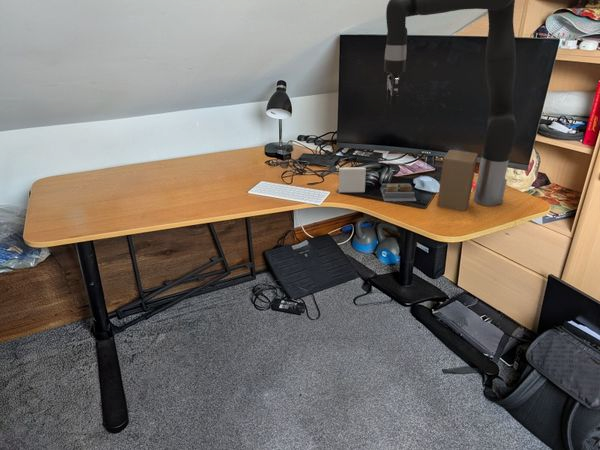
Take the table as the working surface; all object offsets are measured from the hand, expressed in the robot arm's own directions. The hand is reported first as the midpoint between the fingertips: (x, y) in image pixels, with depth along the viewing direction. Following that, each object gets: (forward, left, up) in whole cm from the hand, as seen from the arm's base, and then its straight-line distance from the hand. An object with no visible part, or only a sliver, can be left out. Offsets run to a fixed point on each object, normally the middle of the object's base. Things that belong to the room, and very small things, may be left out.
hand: (391, 103), depth 171 cm
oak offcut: (0, +14, -32) cm, 35 cm away
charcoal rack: (-3, +13, -33) cm, 36 cm away
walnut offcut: (-5, +14, -32) cm, 35 cm away
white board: (+15, +10, -33) cm, 38 cm away
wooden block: (-22, +21, -33) cm, 45 cm away
